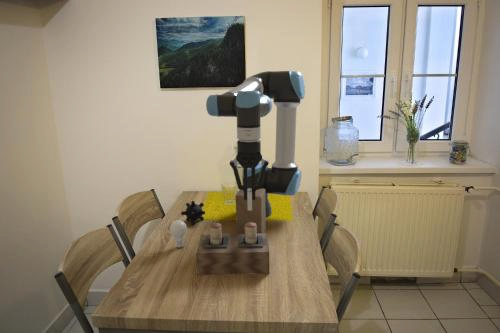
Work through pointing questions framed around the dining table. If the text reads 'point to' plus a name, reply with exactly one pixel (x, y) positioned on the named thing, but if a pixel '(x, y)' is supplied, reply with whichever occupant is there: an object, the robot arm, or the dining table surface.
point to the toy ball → (194, 212)
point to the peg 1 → (215, 234)
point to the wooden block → (251, 211)
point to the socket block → (233, 255)
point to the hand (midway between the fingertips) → (249, 208)
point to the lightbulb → (178, 232)
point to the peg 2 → (250, 233)
